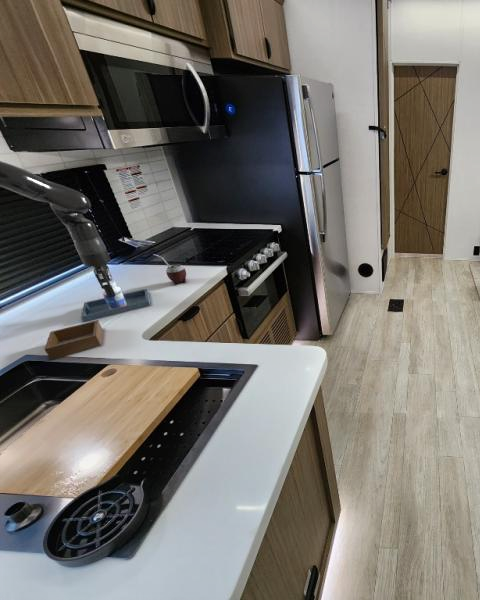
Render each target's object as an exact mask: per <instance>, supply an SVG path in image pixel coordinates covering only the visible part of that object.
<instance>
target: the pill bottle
mask: <svg viewBox="0 0 480 600" xmlns="http://www.w3.org/2000/svg"><path fill="white" fill-rule="evenodd" d="M110 283H111V285H112V288H113V290H114V292H115V294H116V296H115V297H110V298H109V297H108V296H107V294H106V292H105V290H104V289H102V290H101V294H102V296H103V298H105V300H106V302H107V305H108V307H109V308H110V309H114V308H118V307H122V306H126V304H127V303H126V300H125V298H124V296H123V294H124V293H123V292H122V290H121V287H120V286H117V283H116V282H115V280H112V281H110ZM103 284H104V285H107V283H103Z"/></svg>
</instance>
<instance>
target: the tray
mask: <svg viewBox="0 0 480 600" xmlns="http://www.w3.org/2000/svg"><path fill="white" fill-rule="evenodd" d="M149 293H150V292H149V291H148V288H144V289H140V290H134V291H130V292H126V293H122V294H123V296H124V298H125V300H126V303H127V304H126V306H122V307H118V308H114V309H110V308H109V307H108V305H107V302H106V300H105V298H104V297H102V298H99V299H98V298H97V299H94V300H89V301H85V302H83V306H82V311H81V315H80V318H81V320H82V322H83V323H87V322H92V321H96V320H98V319H102V318H107V317H110V316H115V315H118V314H123V313H127V312H130V311H135V310H139V309H143V308H147V307H151V300H150V294H149Z"/></svg>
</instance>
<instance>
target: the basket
mask: <svg viewBox="0 0 480 600" xmlns="http://www.w3.org/2000/svg"><path fill="white" fill-rule="evenodd" d="M101 325H102V324H100V322H99V320H98V319H95V320H91V321H87V322H83V323H79V324H77V325H72V326H68V327H64V328H59V329H55V330H52V331H50V332H49V334H48V338H47V341H46V343H45V346H44V351H45V353H46V354H47V356H48V358H49V359H50V361H52V360H56V359H60V358H63V357H66V356H70V355H74V354H77V353H80V352H84V351H85V352H86V351H88V350H92V349H95V348H98V347H102V343H103V333H104V329H103V327H102V326H101ZM84 336H85V337H84ZM76 338H78V339H76ZM61 342H62V343H61Z"/></svg>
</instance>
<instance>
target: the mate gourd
mask: <svg viewBox="0 0 480 600" xmlns="http://www.w3.org/2000/svg"><path fill="white" fill-rule="evenodd" d="M152 255H153V256H155V257H158V258H160V260H161V261H163V263H165V265H166V266H167V267H166V270H165V271H166V276H167V278H168V279H169V280H170V281H171V282H172V283H173V284H174V286H176V285H178V284H181V283H182V284H186V283H187V279H186V278H187V271H186V268H185V267H184V266H183V265H182V264H179V263H178V264H177V263H176V264H171V265H170V264H169V263H168V262H167V260H165V258H164V257H163V256H160V255H158V254H154V253H153V254H152Z"/></svg>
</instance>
